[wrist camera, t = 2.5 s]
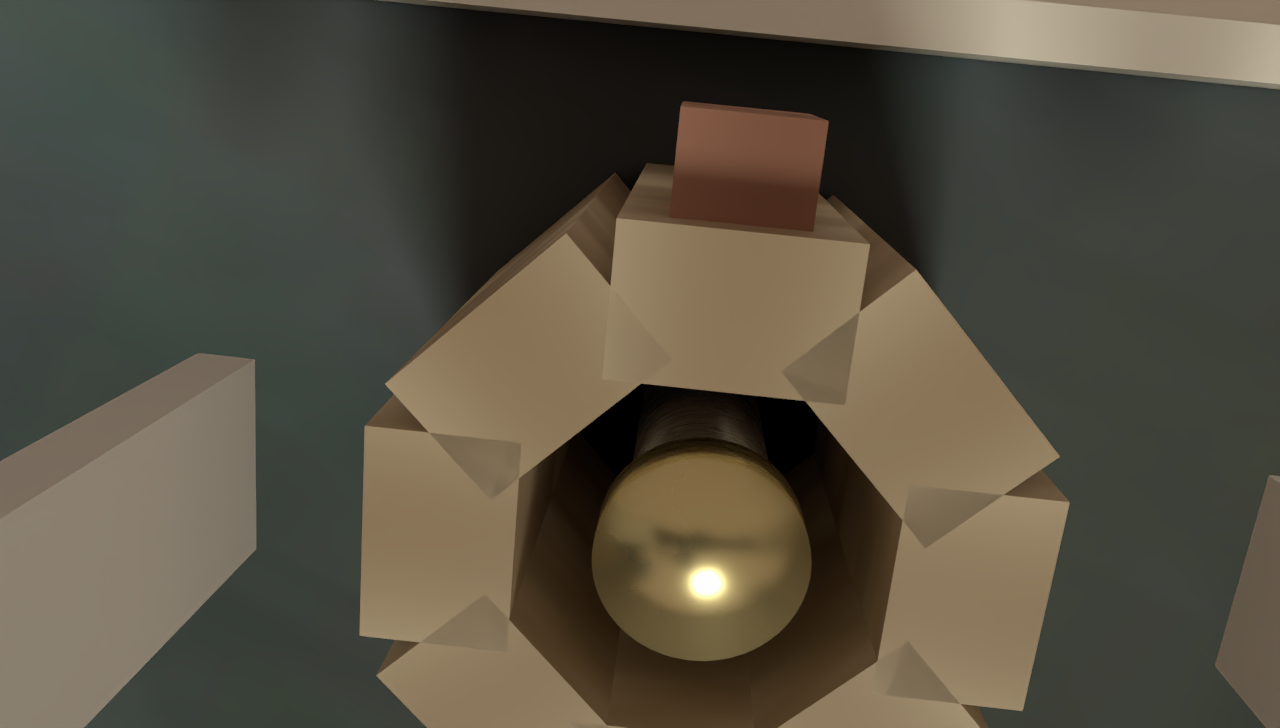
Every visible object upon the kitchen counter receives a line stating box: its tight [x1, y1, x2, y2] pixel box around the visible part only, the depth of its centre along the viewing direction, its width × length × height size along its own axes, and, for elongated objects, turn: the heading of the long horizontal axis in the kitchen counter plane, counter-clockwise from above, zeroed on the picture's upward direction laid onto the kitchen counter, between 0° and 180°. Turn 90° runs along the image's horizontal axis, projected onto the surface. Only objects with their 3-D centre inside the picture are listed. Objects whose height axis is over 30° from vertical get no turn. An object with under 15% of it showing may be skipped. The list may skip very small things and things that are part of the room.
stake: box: [592, 384, 812, 661], centre depth 16 cm, size 3×3×7 cm
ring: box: [360, 101, 1070, 728], centre depth 15 cm, size 8×9×7 cm
